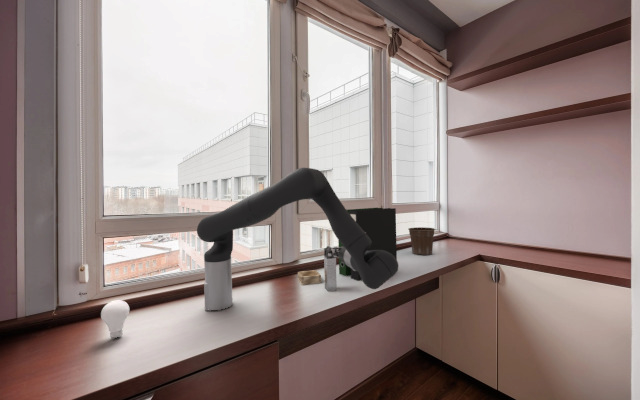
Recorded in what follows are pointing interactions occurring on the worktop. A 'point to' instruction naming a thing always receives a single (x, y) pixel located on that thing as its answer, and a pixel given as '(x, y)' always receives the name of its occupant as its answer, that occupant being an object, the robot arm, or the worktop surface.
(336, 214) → the robot arm
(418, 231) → the plant pot
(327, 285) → the grey rectangular block
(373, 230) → the lever arch files
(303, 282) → the holder
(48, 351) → the worktop surface
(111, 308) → the light bulb
